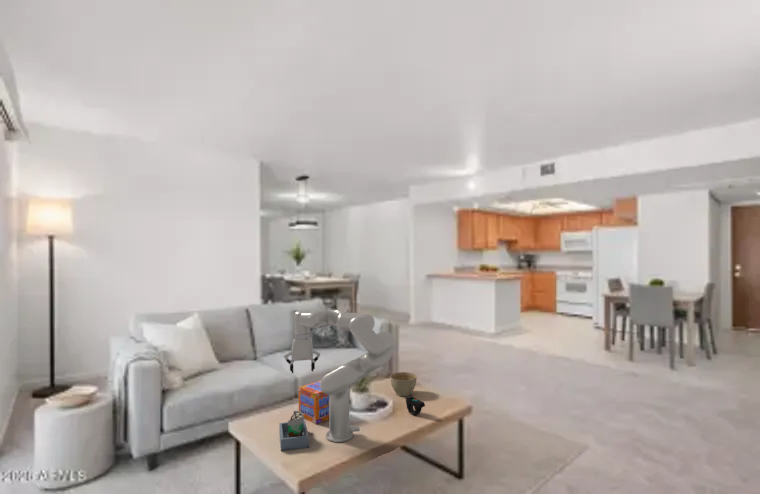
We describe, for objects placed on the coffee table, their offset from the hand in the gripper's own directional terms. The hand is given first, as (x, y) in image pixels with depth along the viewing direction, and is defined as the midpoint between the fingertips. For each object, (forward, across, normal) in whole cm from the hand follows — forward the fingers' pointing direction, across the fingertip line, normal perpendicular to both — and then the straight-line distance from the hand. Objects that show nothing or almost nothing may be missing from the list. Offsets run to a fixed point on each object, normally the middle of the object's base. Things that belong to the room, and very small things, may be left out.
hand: (302, 371), depth 202 cm
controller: (+28, -59, -2) cm, 66 cm away
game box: (+29, -10, -15) cm, 34 cm away
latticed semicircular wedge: (+28, +3, +10) cm, 29 cm away
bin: (+28, +5, +10) cm, 30 cm away
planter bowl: (+28, -64, -34) cm, 77 cm away
